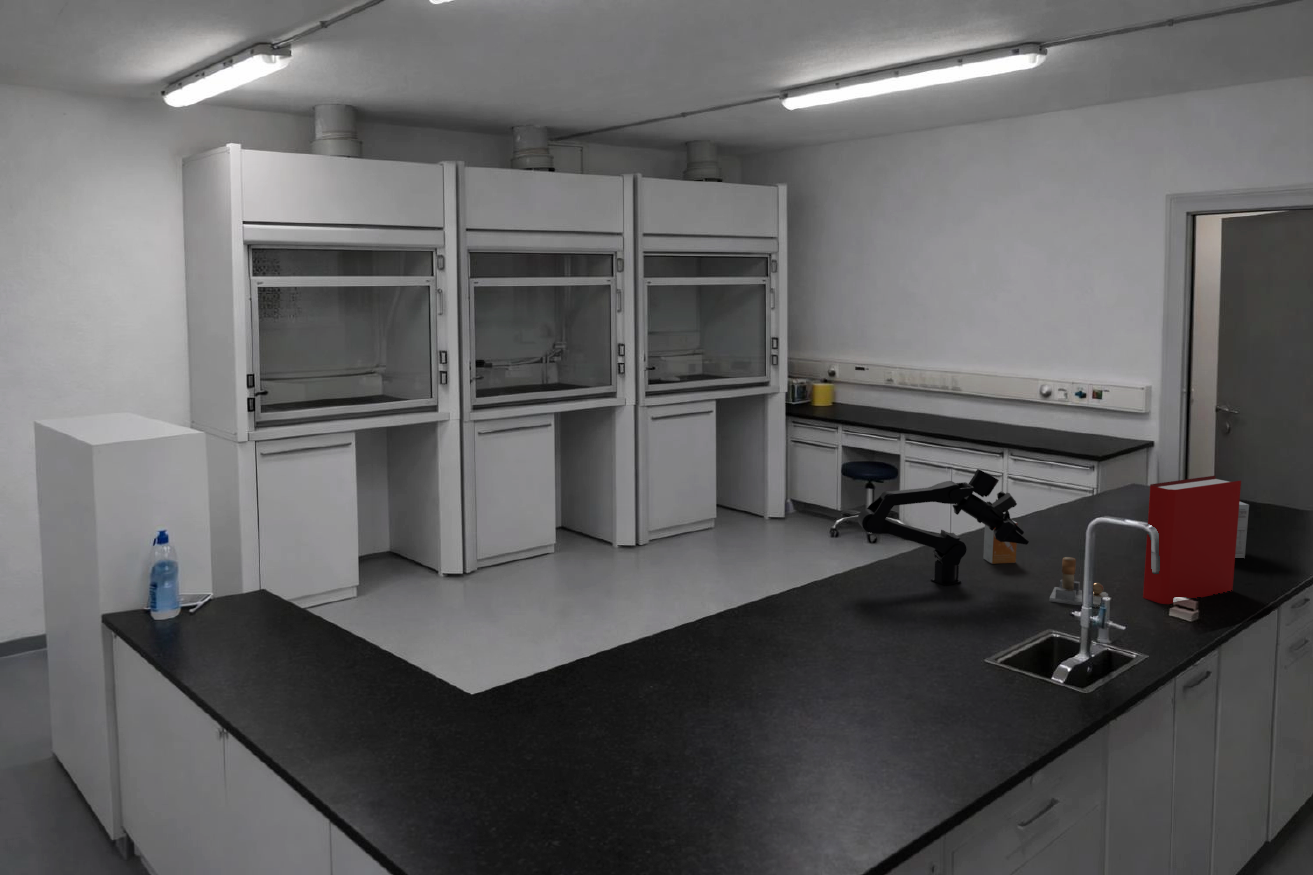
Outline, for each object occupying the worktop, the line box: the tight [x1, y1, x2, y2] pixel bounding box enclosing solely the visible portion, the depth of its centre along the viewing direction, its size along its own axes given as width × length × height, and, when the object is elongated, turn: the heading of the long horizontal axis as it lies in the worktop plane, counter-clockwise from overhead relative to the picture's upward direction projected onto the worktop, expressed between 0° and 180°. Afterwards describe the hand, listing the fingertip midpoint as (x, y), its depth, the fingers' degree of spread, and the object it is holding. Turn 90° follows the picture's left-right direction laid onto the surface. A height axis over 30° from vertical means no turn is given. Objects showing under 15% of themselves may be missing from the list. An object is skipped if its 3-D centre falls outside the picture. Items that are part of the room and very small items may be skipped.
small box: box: [983, 519, 1019, 565], centre depth 317 cm, size 8×6×13 cm
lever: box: [1061, 556, 1077, 590], centre depth 280 cm, size 3×6×10 cm, turn 151°
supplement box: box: [1235, 501, 1250, 559], centre depth 322 cm, size 13×13×18 cm
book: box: [1142, 475, 1242, 605], centre depth 281 cm, size 27×8×32 cm, turn 114°
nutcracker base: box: [1048, 579, 1109, 606], centre depth 279 cm, size 14×11×5 cm
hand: (1025, 538), depth 293 cm, fingers open, 9 cm apart
